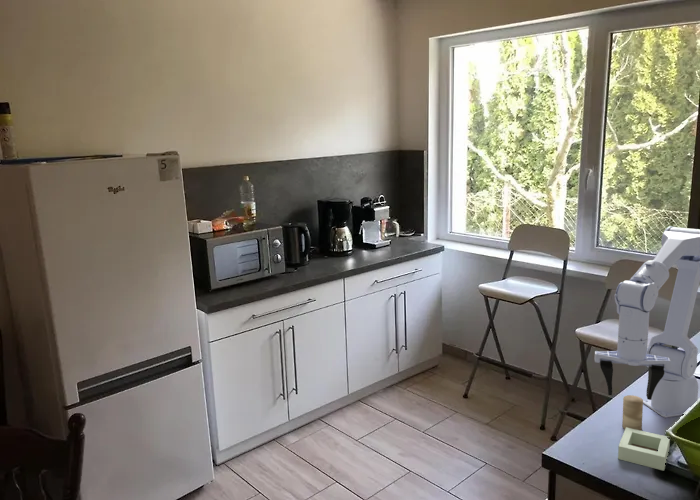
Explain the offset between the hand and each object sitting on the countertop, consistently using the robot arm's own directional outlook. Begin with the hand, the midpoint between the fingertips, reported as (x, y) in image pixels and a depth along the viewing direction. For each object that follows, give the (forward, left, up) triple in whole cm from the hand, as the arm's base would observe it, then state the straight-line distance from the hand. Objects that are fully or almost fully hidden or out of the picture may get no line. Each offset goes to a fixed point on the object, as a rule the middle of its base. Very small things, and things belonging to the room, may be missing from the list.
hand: (629, 395), depth 124 cm
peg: (-4, -3, -10) cm, 11 cm away
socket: (+1, +7, -10) cm, 12 cm away
